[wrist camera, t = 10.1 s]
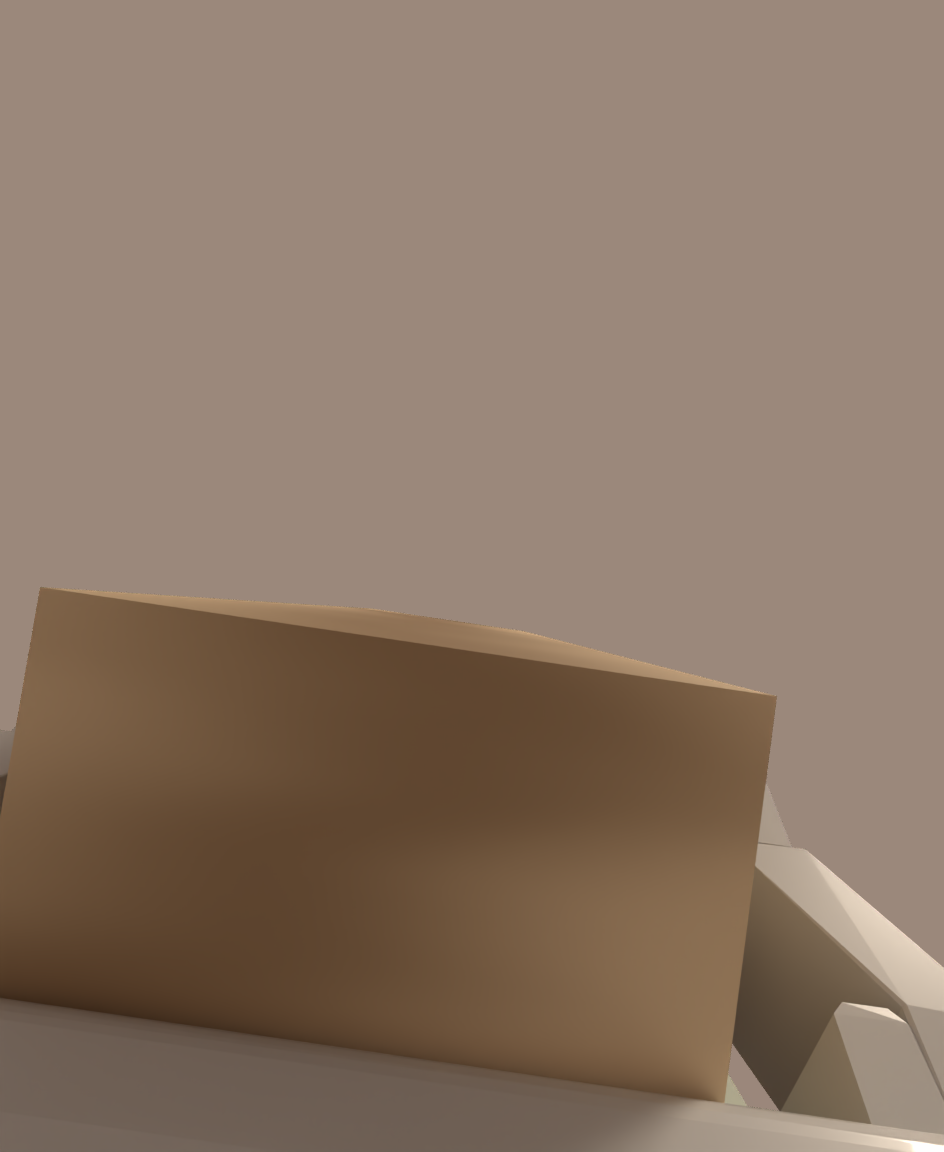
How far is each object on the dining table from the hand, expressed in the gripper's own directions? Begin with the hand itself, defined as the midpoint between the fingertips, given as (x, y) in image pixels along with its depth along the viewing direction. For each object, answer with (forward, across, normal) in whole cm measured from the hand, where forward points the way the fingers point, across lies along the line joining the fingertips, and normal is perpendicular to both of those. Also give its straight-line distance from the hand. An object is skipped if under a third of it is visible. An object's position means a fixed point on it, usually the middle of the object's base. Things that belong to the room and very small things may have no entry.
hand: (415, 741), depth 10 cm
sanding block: (+3, 0, +4) cm, 5 cm away
